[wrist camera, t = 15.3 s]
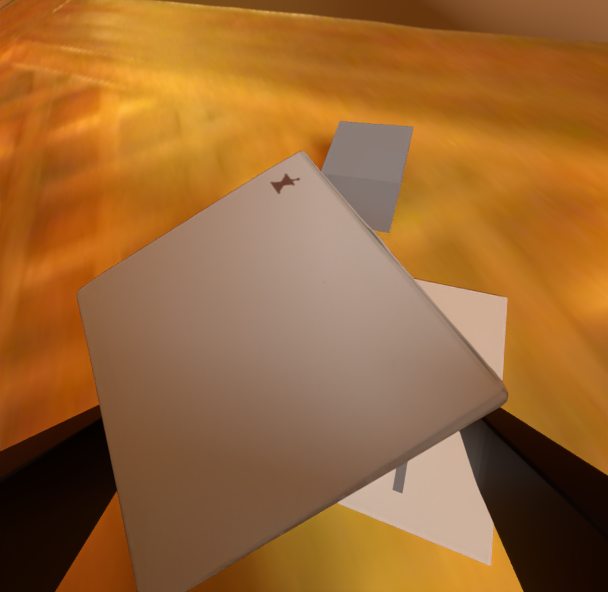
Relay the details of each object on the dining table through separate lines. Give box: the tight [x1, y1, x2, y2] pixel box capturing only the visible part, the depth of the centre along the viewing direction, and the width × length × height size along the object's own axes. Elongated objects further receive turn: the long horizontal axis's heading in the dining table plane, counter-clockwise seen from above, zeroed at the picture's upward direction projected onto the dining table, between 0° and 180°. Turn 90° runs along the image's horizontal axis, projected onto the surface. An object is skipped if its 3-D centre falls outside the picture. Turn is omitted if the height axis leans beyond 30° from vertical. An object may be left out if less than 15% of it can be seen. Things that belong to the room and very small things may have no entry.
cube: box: [321, 121, 413, 233], centre depth 21 cm, size 5×5×5 cm
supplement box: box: [77, 151, 508, 592], centre depth 12 cm, size 7×7×13 cm
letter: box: [337, 279, 507, 566], centre depth 19 cm, size 14×21×1 cm, turn 72°
